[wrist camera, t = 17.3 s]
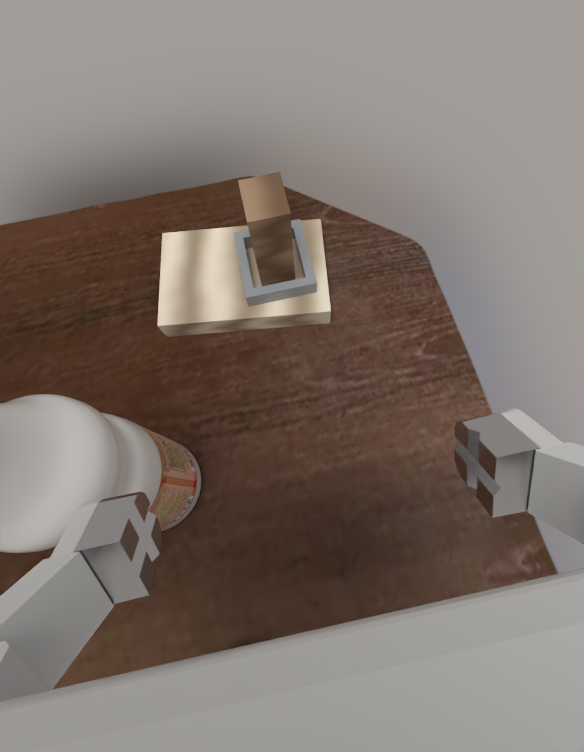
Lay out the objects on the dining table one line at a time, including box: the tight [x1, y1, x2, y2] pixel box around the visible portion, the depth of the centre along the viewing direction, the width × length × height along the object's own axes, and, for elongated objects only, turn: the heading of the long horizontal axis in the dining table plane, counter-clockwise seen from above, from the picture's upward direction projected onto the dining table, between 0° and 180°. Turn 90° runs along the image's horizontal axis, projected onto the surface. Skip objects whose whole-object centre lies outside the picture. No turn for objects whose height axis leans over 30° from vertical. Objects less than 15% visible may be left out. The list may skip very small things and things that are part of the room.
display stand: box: [158, 219, 331, 337], centre depth 47 cm, size 20×13×3 cm, turn 94°
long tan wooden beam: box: [238, 172, 295, 286], centre depth 40 cm, size 4×5×11 cm
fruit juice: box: [0, 394, 201, 553], centre depth 27 cm, size 9×9×28 cm
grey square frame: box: [234, 219, 317, 307], centre depth 44 cm, size 8×9×2 cm
